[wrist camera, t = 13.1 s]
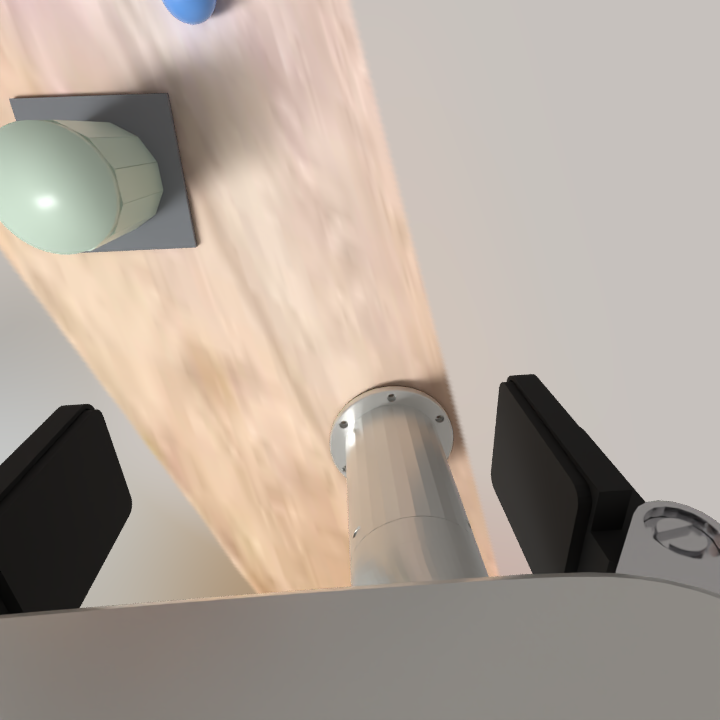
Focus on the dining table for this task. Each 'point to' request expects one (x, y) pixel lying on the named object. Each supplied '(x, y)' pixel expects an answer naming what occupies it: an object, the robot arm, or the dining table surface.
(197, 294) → the dining table surface
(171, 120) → the slate mat
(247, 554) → the dining table surface
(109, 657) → the robot arm
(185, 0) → the marble
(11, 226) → the mint green domed cylinder
